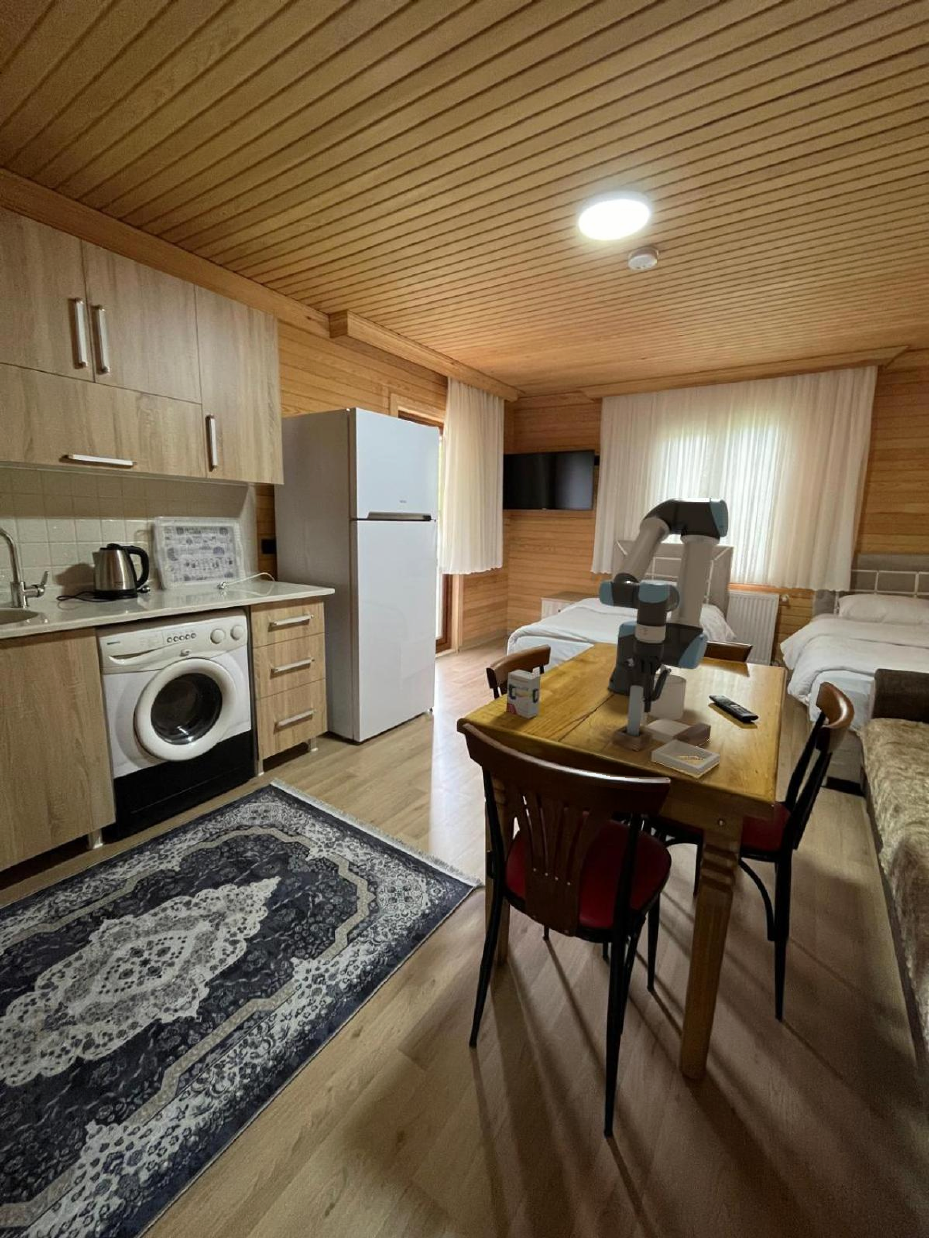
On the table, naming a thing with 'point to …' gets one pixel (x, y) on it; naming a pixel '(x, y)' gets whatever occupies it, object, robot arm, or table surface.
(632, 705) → the dowel
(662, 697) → the mug
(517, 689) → the ink box
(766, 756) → the table surface
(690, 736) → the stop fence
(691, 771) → the tray
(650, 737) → the socket block
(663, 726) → the white flat block
